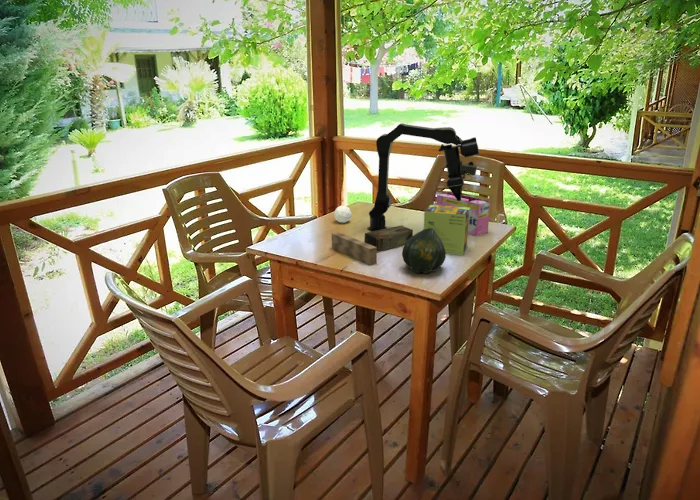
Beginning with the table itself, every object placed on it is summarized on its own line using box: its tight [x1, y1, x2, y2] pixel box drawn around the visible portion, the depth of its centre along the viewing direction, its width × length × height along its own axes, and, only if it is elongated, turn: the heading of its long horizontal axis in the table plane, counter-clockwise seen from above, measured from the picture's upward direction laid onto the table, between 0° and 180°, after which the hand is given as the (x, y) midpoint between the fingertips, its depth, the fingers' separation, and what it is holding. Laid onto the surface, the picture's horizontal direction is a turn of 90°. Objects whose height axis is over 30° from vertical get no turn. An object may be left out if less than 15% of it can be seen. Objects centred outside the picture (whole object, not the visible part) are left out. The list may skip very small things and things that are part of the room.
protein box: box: [423, 204, 470, 256], centre depth 187 cm, size 10×15×16 cm
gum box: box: [435, 191, 491, 237], centre depth 211 cm, size 24×8×14 cm, turn 39°
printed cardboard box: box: [364, 224, 414, 253], centre depth 193 cm, size 8×19×6 cm, turn 124°
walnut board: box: [331, 231, 378, 266], centre depth 183 cm, size 23×3×6 cm, turn 37°
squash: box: [401, 228, 447, 274], centre depth 169 cm, size 14×15×15 cm
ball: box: [333, 205, 352, 224], centre depth 223 cm, size 8×8×8 cm
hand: (460, 198), depth 200 cm, fingers open, 9 cm apart
